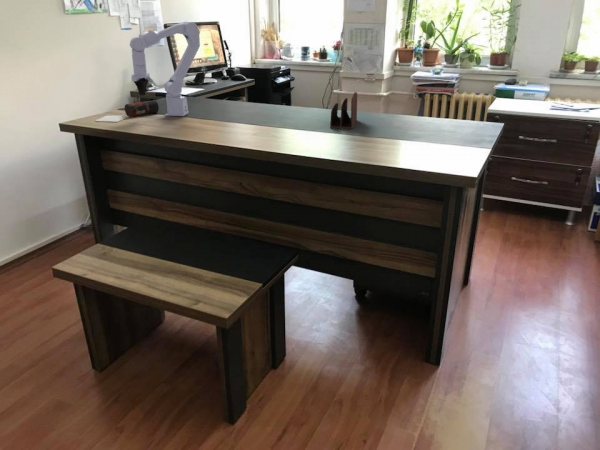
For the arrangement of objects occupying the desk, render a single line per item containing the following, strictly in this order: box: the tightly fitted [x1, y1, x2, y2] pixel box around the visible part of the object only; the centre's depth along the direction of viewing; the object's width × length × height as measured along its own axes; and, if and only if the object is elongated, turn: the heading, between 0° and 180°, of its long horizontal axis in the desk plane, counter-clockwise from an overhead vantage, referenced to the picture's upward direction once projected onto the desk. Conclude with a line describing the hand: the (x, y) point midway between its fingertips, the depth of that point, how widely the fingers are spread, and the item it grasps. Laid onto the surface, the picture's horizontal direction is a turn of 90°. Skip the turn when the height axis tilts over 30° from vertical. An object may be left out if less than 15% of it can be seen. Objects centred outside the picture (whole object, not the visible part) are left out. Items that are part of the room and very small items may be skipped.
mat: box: [94, 115, 129, 123], centre depth 234 cm, size 11×12×1 cm
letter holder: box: [329, 91, 358, 130], centre depth 225 cm, size 10×20×14 cm, turn 168°
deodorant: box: [124, 99, 160, 118], centre depth 243 cm, size 6×6×15 cm
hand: (142, 95), depth 234 cm, fingers closed
